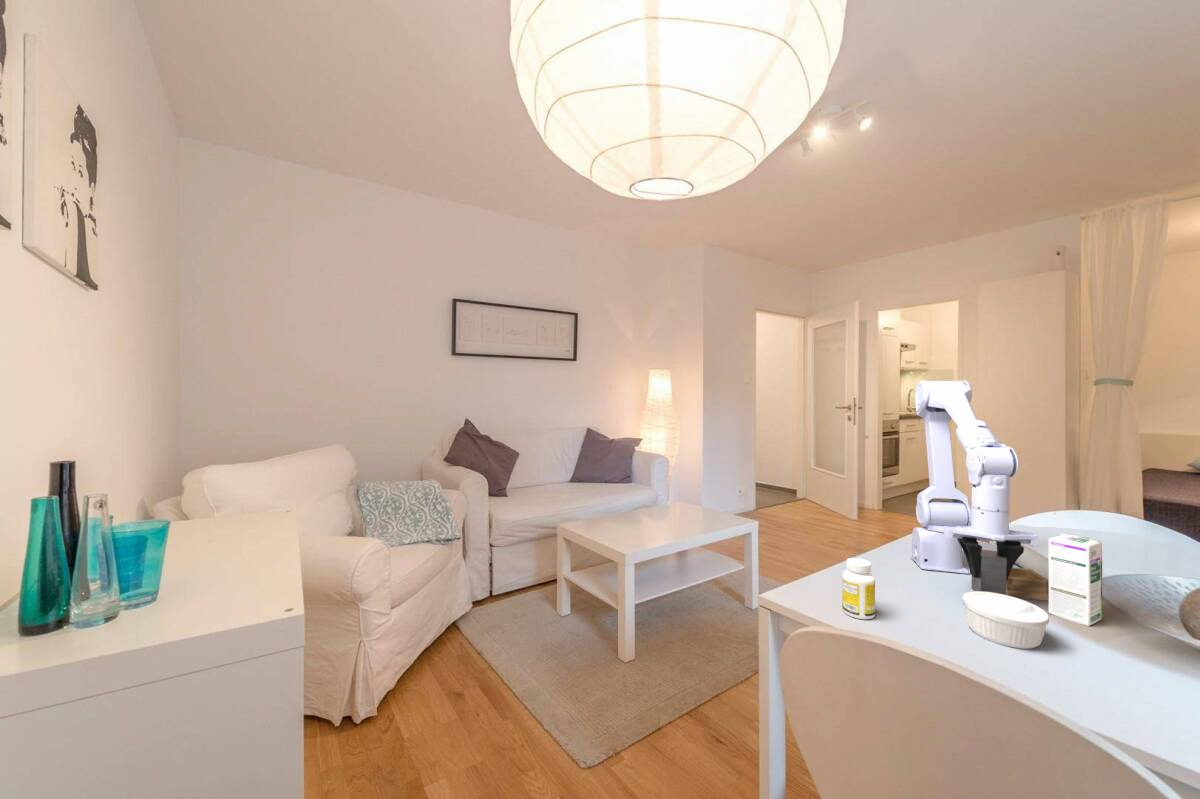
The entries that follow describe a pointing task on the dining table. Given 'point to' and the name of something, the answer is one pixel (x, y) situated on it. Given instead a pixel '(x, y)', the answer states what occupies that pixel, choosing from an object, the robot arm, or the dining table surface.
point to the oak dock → (1027, 584)
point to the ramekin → (1005, 619)
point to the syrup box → (1075, 579)
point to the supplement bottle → (858, 589)
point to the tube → (1034, 562)
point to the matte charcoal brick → (991, 573)
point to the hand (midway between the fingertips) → (988, 577)
